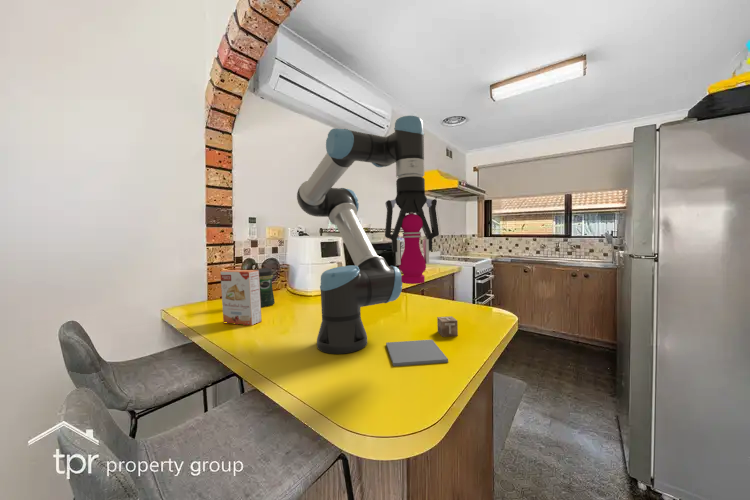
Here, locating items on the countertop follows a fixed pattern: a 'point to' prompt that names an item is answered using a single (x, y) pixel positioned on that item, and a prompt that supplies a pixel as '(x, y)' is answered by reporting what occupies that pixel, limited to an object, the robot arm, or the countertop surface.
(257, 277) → the cracker box
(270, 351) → the countertop surface
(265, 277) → the coffee jar
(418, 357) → the grey mat
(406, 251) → the pepper mill
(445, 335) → the marked cube
